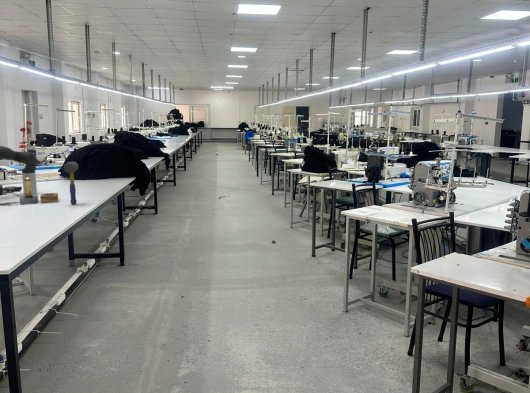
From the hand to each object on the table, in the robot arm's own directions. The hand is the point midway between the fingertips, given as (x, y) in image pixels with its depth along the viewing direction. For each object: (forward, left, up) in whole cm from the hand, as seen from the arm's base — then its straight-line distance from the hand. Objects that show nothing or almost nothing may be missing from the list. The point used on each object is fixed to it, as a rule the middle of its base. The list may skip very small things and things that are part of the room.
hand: (21, 189), depth 303 cm
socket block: (0, +4, -10) cm, 11 cm away
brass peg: (0, +4, -10) cm, 11 cm away
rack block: (0, +17, -10) cm, 20 cm away
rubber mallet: (+18, +33, -10) cm, 39 cm away
